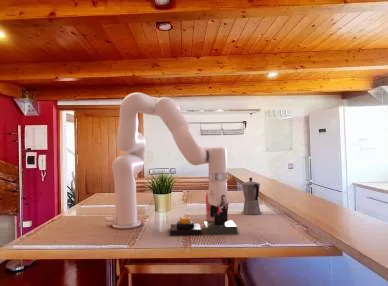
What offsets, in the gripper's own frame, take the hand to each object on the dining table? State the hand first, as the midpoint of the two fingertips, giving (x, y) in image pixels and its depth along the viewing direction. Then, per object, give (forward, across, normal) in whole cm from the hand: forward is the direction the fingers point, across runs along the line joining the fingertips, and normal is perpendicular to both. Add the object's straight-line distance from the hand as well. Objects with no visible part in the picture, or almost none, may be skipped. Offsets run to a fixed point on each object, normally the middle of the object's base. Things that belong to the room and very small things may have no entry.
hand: (218, 219), depth 130 cm
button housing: (+5, -3, -13) cm, 15 cm away
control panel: (+5, 0, 0) cm, 5 cm away
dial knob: (+2, 0, 0) cm, 2 cm away
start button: (+1, -3, -13) cm, 14 cm away
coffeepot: (+5, -25, +29) cm, 39 cm away
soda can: (+5, -18, +5) cm, 20 cm away
